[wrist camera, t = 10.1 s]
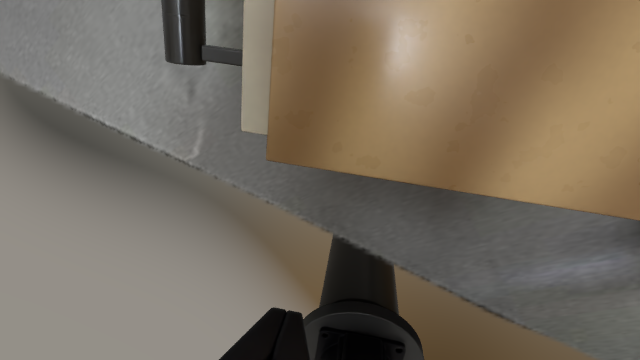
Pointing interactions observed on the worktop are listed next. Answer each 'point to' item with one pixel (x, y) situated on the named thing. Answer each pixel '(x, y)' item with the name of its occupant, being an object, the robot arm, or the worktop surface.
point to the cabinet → (464, 96)
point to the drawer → (226, 51)
